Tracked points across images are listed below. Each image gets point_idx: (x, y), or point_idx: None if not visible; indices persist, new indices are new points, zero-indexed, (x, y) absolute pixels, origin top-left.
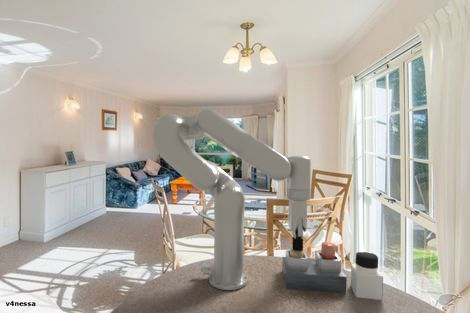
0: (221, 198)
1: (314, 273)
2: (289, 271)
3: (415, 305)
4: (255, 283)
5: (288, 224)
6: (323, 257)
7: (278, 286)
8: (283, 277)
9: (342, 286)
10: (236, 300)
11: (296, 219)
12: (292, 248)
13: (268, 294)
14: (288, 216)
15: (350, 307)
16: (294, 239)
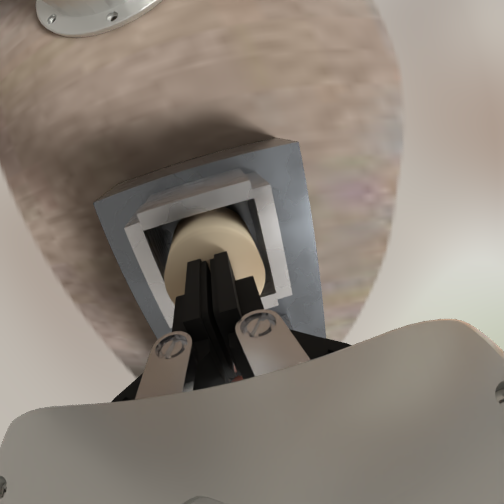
0: None
1: (159, 320)
2: (118, 216)
3: None
4: (114, 60)
5: (349, 354)
6: (234, 379)
7: (125, 152)
8: (208, 154)
9: None
10: (4, 67)
11: None
12: (230, 247)
13: (58, 138)
14: (471, 471)
15: (127, 364)
16: (188, 326)
